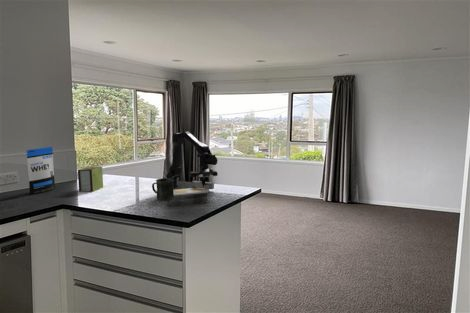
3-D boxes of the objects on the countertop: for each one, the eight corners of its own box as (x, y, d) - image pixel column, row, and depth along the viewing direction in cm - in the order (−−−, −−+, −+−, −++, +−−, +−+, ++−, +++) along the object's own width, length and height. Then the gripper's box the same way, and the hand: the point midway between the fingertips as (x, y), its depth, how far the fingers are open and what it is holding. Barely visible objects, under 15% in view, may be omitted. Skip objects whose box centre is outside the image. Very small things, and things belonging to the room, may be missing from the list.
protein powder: (23, 194, 233) (20, 150, 230) (49, 187, 257) (46, 146, 253) (36, 195, 231) (32, 150, 228) (60, 187, 255) (58, 146, 252)
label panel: (169, 191, 241) (168, 189, 241) (202, 188, 251) (202, 186, 251) (174, 195, 228) (173, 193, 228) (209, 192, 237) (208, 190, 237)
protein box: (103, 187, 256) (102, 166, 254) (93, 192, 241) (91, 169, 239) (89, 187, 257) (88, 166, 255) (78, 191, 242) (77, 169, 240)
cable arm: (191, 187, 246) (190, 181, 246) (193, 186, 250) (193, 180, 249) (211, 189, 239) (211, 183, 238) (214, 188, 242) (214, 182, 241)
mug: (169, 201, 214) (168, 181, 212) (148, 199, 218) (147, 180, 217) (177, 197, 224) (176, 178, 223) (157, 195, 228) (156, 177, 227)
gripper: (193, 165, 227) (193, 189, 229) (220, 164, 234) (220, 187, 236) (188, 163, 237) (188, 186, 239) (214, 162, 244) (214, 184, 246)
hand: (203, 186), depth 240 cm, fingers closed
